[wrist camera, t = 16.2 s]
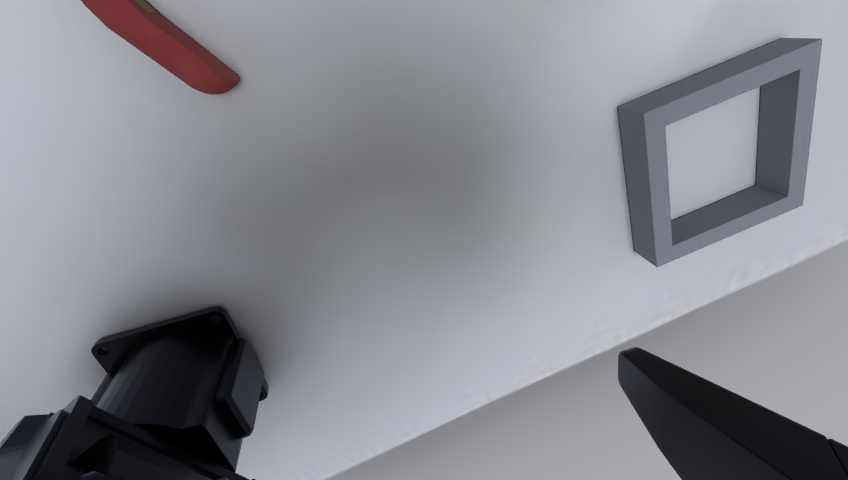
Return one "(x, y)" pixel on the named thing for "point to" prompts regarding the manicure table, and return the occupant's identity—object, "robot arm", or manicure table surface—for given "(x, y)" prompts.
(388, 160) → the manicure table surface
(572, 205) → the manicure table surface
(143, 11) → the pliers
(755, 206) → the gray square frame
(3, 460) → the robot arm
